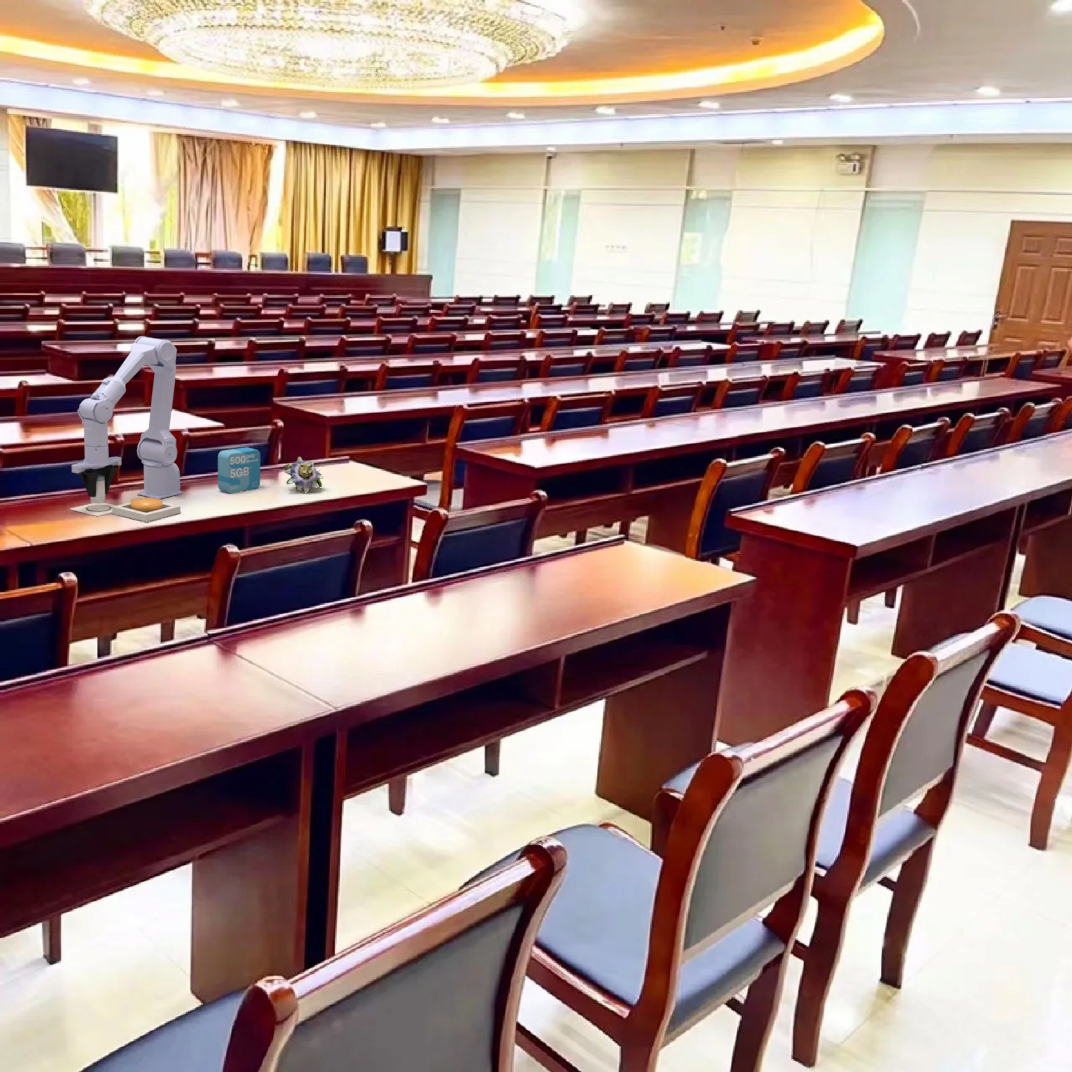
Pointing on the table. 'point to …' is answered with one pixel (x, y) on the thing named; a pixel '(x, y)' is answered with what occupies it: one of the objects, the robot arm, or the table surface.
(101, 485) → the white cylindrical piece
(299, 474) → the passion flower
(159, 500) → the button
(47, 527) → the table surface
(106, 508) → the paper sheet
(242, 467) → the data package
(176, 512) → the button box
